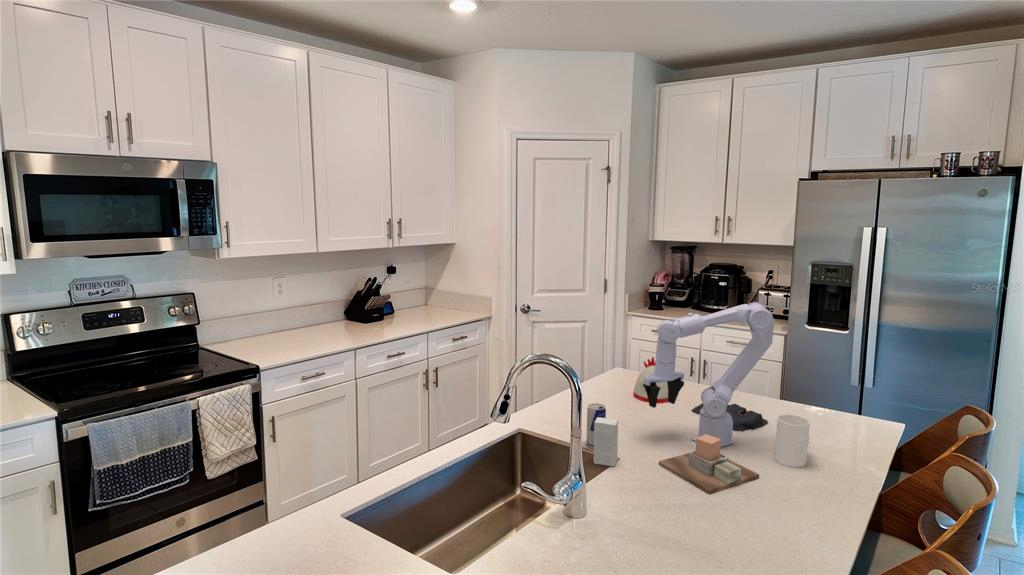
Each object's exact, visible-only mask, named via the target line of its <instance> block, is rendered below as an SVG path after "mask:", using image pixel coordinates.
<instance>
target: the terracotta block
mask: <svg viewBox="0 0 1024 575" xmlns="http://www.w3.org/2000/svg"><path fill="white" fill-rule="evenodd" d="M697 437H698V436H697ZM721 448H722V447H721V439H718V438H715V437H713V436H710V435H707V434H705V435H703V436H701V437H698V438H696V441H695V451H696V453H695V455H696V456H698V457H700V458H702V459H704V460H706V461H709V462H711V461H714V460H716V459H718V458H720V453H721Z"/></svg>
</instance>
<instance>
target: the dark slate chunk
mask: <svg viewBox="0 0 1024 575" xmlns="http://www.w3.org/2000/svg"><path fill="white" fill-rule="evenodd" d="M703 406H704V405H703V402H702V403H700V404H699V405H696V406H695V407H694V408H692V409H691V412H692V413H694V414H695V413H696V415H698V414H699V415H698V416H700V410H701V409H702V408H703ZM726 412H728V413H729V414H730V415H731V417H732V420H733V432H740V433H742V432H743V433H744V432H745V431H750V430H752V431H753V430H756V429H759V428H763V426H766V424H767V425H768V424H769V421H768V420H767V419H765V418H763V414H762V413H758V412H756V411H754V410H747V407H746V408H745V407H744V406H740V405H739V404H737V403H732V404H728V405H727V409H726Z"/></svg>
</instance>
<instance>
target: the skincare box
mask: <svg viewBox="0 0 1024 575" xmlns="http://www.w3.org/2000/svg"><path fill="white" fill-rule="evenodd" d="M618 436H619V420H618V419H616V418H615V419H614V418H600V417H597V419H596V420H595V422H594V449H593V464H594V465H595V464H596V465H602V466H609V467H616V465H617V462H618V448H619V447H618V442H619V441H618V440H619V437H618Z"/></svg>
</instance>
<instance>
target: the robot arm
mask: <svg viewBox="0 0 1024 575" xmlns="http://www.w3.org/2000/svg"><path fill="white" fill-rule="evenodd" d="M733 322H735V323H738V324H741V325H745V326H746V325H747V324H748V326H749V330H750V334H751V339H749V340H750V341H749V342H748V343H746V345H745V346H744V348H743V349H742V350H741V351H740V353H739V354H738V355H737V357H736V358H735V359H734V360H733V362H732V363H731V364H730V366H729V367H728V368H727V369H726V370H725V372H724V373H723V374H722V376H721V377H719V378H718V380H716V381H714V382H713V383H712V384H711V385H710V386H709V387H707V388H705V389H703V391H702V392H701V394H700V400H701V402H702V403H703V405H704V406H703V408H702V409H701V410H700V415H699V423H698V425H699V426H698V436H694V437H692V438H691V440H692V441H694V442H696V438H698V437H701V436H703V435H705V434H707V435H710V436H713V437H715V438H718V439H721V448H722V447H725V446H729V445H733V444H734V443H735V441H733V432H734V431H733V420H732V417H731V415H730V414H729V413H728V412H726V409H727V405H729V403H730V402H731V400H732V398H733V394H734V392H735V391H736V390H737V388H738V387H739V385H741V383H742V382H743V381H744V380H745V378H746V377H747V376H748V375H749V373H750V372H751V371H752V370H753V369H754V367H755V366H756V365H757V363H758V362H759V361H760V360H761V359H762V357H763V356H764V355H765V354H766V352H767V351H768V350H769V348H770V347H771V346H772V345H773V338H774V328H775V325H776V322H775V320H774V316H773V313H772V312H771V311H770V310H769V309H767V307H765V305H763V304H762V303H760V302H755V301H754V302H750V303H744V304H740V305H736V306H733V307H729V308H727V309H726V308H725V309H722V310H720V311H716V312H713V313H709V314H706V315H700V314H699V313H695V314H694V313H693V312H689V313H687V315H685V316H682V317H678V318H676V317H673V318H671V320H668V319H665V320H662V321H661V322H660V323H659V324H658V327H657V328H656V331H657V336H658V338H657V344H656V349H655V360H656V361H655V360H654V362H655V372H653V374H652V375H650V376H647V377H644V379H643V386H644V388H645V390H646V393H647V396H648V401H649V403H648V406H649V407H651V408H656V407H657V404H658V403H657V397H658V393H659V391H660V389H661V388H660V387H658V386H657V385H656V383H660V382H666V381H667V384H668V402H667V403H669V404H672V405H674V404H676V401H677V398H678V396H679V393H680V391H681V390H682V389H683V387H684V385H685V381H684V380H685V372H682V371H676V361H677V360H676V359H677V340H678V339H679V338H680V339H683V338H686V337H691V336H694V335H698V334H702V333H703V332H704V331H705V329H706V328H708V327H714V326H718V325H722V324H728V323H733Z"/></svg>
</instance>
